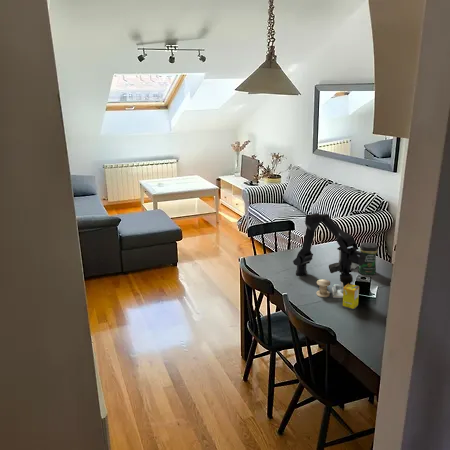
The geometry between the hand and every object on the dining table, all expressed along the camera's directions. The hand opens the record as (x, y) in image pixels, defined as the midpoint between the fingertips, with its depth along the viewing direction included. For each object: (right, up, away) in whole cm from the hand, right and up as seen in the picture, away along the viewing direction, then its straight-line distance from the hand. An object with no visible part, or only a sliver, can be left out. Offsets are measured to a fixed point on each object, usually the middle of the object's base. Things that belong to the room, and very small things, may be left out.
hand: (344, 286), depth 226 cm
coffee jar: (+20, +4, +25) cm, 33 cm away
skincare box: (+13, +8, +37) cm, 40 cm away
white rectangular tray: (0, -4, +1) cm, 4 cm away
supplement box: (-1, -8, -12) cm, 15 cm away
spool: (-11, -4, +1) cm, 12 cm away
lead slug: (0, -3, +1) cm, 3 cm away
